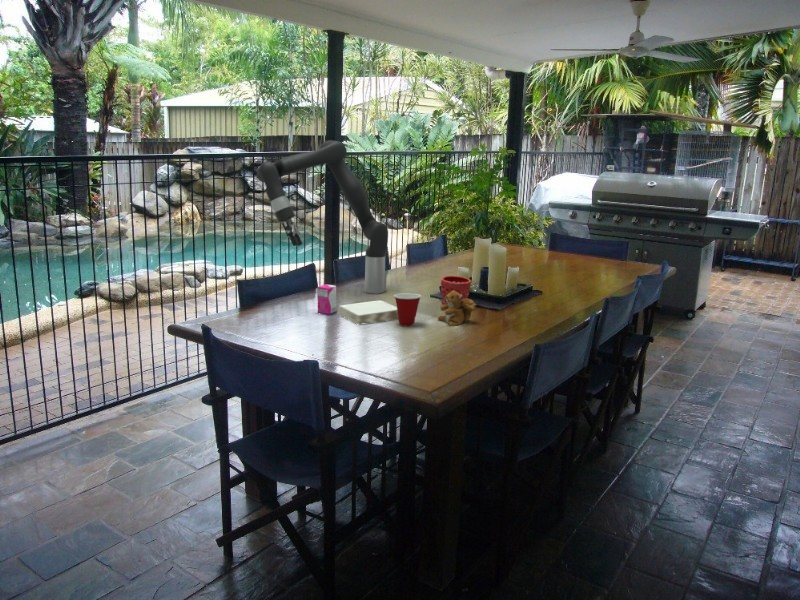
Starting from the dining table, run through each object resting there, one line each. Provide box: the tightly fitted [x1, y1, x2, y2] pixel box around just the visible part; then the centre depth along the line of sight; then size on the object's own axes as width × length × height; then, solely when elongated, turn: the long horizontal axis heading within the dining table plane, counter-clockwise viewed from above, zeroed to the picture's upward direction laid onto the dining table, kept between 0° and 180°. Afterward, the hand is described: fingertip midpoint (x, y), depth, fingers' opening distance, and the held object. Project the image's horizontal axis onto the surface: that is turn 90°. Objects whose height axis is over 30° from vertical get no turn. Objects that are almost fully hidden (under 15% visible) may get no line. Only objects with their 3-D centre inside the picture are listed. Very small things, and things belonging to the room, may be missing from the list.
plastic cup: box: [393, 292, 422, 327], centre depth 259 cm, size 11×11×12 cm
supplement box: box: [316, 283, 337, 316], centre depth 271 cm, size 6×6×12 cm
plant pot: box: [440, 275, 472, 305], centre depth 291 cm, size 13×13×12 cm
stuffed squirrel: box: [437, 290, 477, 327], centre depth 265 cm, size 10×14×13 cm
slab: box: [338, 299, 399, 325], centre depth 268 cm, size 20×16×4 cm
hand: (298, 245), depth 273 cm, fingers open, 8 cm apart
